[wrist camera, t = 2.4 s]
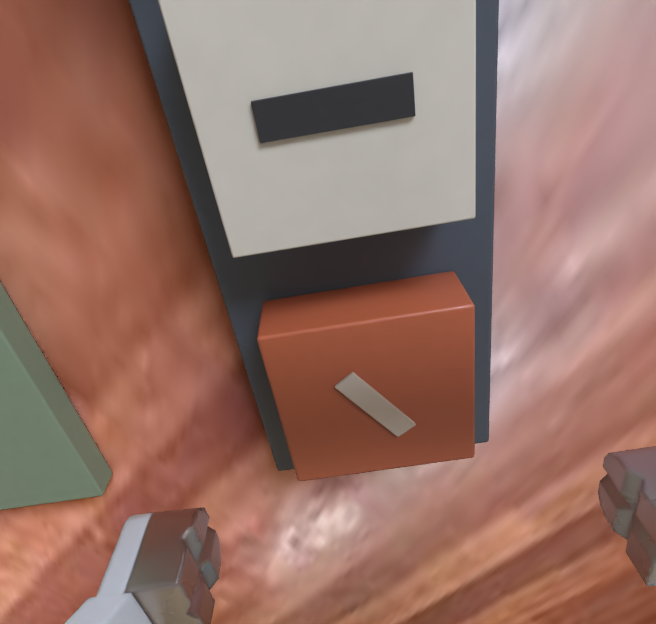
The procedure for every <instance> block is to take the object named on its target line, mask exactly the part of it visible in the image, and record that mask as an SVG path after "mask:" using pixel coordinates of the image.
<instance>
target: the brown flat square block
mask: <svg viewBox="0 0 656 624" xmlns="http://www.w3.org/2000/svg"><path fill="white" fill-rule="evenodd" d="M257 342H258V345H259V349H260V352H261V356H262V359H263V362H264V366H265V369H266V373H267V376H268V380H269V383H270V387H271V390H272V394H273V397H274V400H275V404H276V407H277V411H278V414H279V418H280V421H281V425H282V428H283V431H284V435H285V438H286V442H287V445H288V449H289V452H290V456H291V459H292V463H293V466H294V469H295V473H296V476H297V479H298V480H299V481H306V480H313V479H320V478H328V477H335V476H342V475H349V474H357V473H364V472H371V471H378V470H385V469H393V468H400V467H407V466H414V465H422V464H429V463H436V462H443V461H450V460H458V459H465V458H472V457H474V451H475V306H474V304H473V302H472V300H471V299H470V297H469V295H468V294H467V292H466V290H465V289H464V287H463V285H462V284H461V282H460V280H459V279H458V277H457V275H456V274H455V272H453V271H449V272H442V273H436V274H430V275H423V276H417V277H411V278H405V279H398V280H392V281H386V282H379V283H373V284H367V285H361V286H354V287H348V288H342V289H335V290H329V291H323V292H316V293H310V294H304V295H298V296H291V297H285V298H279V299H272V300H266V301H264V302H263V306H262V312H261V318H260V324H259V330H258V336H257Z"/></svg>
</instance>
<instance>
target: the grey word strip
mask: <svg viewBox="0 0 656 624" xmlns="http://www.w3.org/2000/svg"><path fill="white" fill-rule="evenodd" d="M129 3H130V6H131V9H132V12H133V15H134V19H135V22H136V25H137V28H138V31H139V34H140V37H141V41H142V44H143V47H144V50H145V53H146V56H147V60H148V63H149V66H150V69H151V72H152V75H153V78H154V82H155V85H156V88H157V91H158V94H159V97H160V101H161V104H162V107H163V110H164V113H165V116H166V119H167V123H168V126H169V129H170V132H171V135H172V138H173V141H174V145H175V148H176V151H177V154H178V157H179V160H180V164H181V167H182V170H183V173H184V176H185V179H186V182H187V186H188V189H189V192H190V195H191V198H192V201H193V205H194V208H195V211H196V214H197V217H198V220H199V223H200V227H201V230H202V233H203V236H204V239H205V242H206V246H207V249H208V252H209V255H210V258H211V261H212V264H213V268H214V271H215V274H216V277H217V280H218V283H219V286H220V290H221V293H222V296H223V299H224V302H225V305H226V309H227V312H228V315H229V318H230V321H231V324H232V327H233V331H234V334H235V337H236V340H237V343H238V346H239V350H240V353H241V356H242V359H243V362H244V365H245V368H246V372H247V375H248V378H249V381H250V384H251V387H252V391H253V394H254V397H255V400H256V403H257V406H258V409H259V413H260V416H261V419H262V422H263V425H264V428H265V431H266V435H267V438H268V441H269V444H270V447H271V450H272V454H273V457H274V460H275V463H276V466H277V469H278V470H279V471H282V470H289V469H294V466H293V463H292V459H291V456H290V452H289V449H288V445H287V442H286V438H285V435H284V431H283V428H282V425H281V421H280V418H279V414H278V411H277V407H276V404H275V400H274V397H273V394H272V390H271V387H270V383H269V380H268V376H267V373H266V369H265V366H264V362H263V359H262V356H261V352H260V349H259V345H258V342H257V336H258V330H259V324H260V318H261V312H262V306H263V302H264V301H266V300H272V299H279V298H285V297H291V296H298V295H304V294H310V293H316V292H323V291H329V290H335V289H342V288H348V287H354V286H361V285H367V284H373V283H379V282H386V281H392V280H398V279H405V278H411V277H417V276H423V275H430V274H436V273H442V272H449V271H453V272H455V274H456V275H457V277H458V279H459V280H460V282H461V284H462V285H463V287H464V289H465V290H466V292H467V294H468V295H469V297H470V299H471V300H472V302H473V304H474V306H475V443H482V442H487V441H488V440H489V403H490V359H491V316H492V272H493V229H494V186H495V142H496V99H497V55H498V12H499V0H129Z"/></svg>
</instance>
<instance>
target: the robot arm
mask: <svg viewBox="0 0 656 624" xmlns="http://www.w3.org/2000/svg"><path fill="white" fill-rule="evenodd" d="M603 467H604V469H605V470H606V472H607V473H608V474H607V475H606V476H605V477H604V478H603V479H602V480H601V481H600V483H599V490H598V495H599V500H600V506H601V509H602V511H603V513H604V516H605V518H606V520H607V521H608V523H609V525H610V527H611V528H612V530H613V531H615V532H616V533H618V534H619V535H621V536H622V537H624V538H625V539H627V546H626V553H627V555H628V556H629V558H630V560H631V561H632V563H633V565H634V566H635V568H636V569H637V571H638V573H639V574H640V576H641V578H642V579H643V581H644V582H645V584H646V586H654V585H656V446H653V447H646V448H639V449H632V450H626V451H619V452H612V453H608V454H607V455H606V456H605V458H604V463H603ZM208 522H209V516H208V514H207V512H206V510H205V508H204V507H203V508H194V509H184V510H174V511H165V512H155V513H147V514H139V515H131V516H130V517H129V518H128V520H127V521H126V522H125V523H124V526H123V528H122V531H121V533H120V536H119V539H118V541H117V544H116V546H115V549H114V551H113V554H112V557H111V559H110V562H109V564H108V567H107V570H106V572H105V575H104V577H103V580H102V582H101V585H100V588H99V590H98V593H97V595H96V597H90V598H88V599H87V600H86V601H85V602H84V603H83V604H82V605H81V606H80V607H79V608H78V609H77V611H76V612H75V613H74V614H73V615H72V616H71V617H70V618H69V619H68V620H67V621H66V622H65V623H64V624H211V620H212V614H213V609H214V603H215V600H214V598H213V596H212V594H211V592H210V589H211V588H212V586H213V585H214V584H215V582H216V581H217V580H218V579H219V573H220V567H221V547H220V542H219V538H218V535H217V533H216V531H215V530H213V529H212V528H210V527H208Z"/></svg>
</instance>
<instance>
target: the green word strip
mask: <svg viewBox="0 0 656 624" xmlns="http://www.w3.org/2000/svg"><path fill="white" fill-rule="evenodd" d="M111 476H112V471H111V469H110V467H109V466H108V464H107V462H106V460H105V459H104V457H103V455H102V454H101V452H100V450H99V449H98V447H97V445H96V443H95V442H94V440H93V438H92V437H91V435H90V433H89V431H88V430H87V428H86V426H85V425H84V423H83V421H82V420H81V418H80V416H79V414H78V413H77V411H76V409H75V408H74V406H73V404H72V402H71V401H70V399H69V397H68V396H67V394H66V392H65V391H64V389H63V387H62V385H61V384H60V382H59V380H58V379H57V377H56V375H55V374H54V372H53V370H52V368H51V367H50V365H49V363H48V362H47V360H46V358H45V356H44V355H43V353H42V351H41V350H40V348H39V346H38V345H37V343H36V341H35V339H34V338H33V336H32V334H31V333H30V331H29V329H28V328H27V326H26V324H25V322H24V321H23V319H22V317H21V316H20V314H19V312H18V310H17V309H16V307H15V305H14V304H13V302H12V300H11V299H10V297H9V295H8V293H7V292H6V290H5V288H4V287H3V285H2V283H1V282H0V510H4V509H11V508H18V507H25V506H33V505H40V504H47V503H54V502H61V501H68V500H75V499H83V498H90V497H97V496H102V495H103V494H104V492H105V490H106V487H107V485H108V483H109V481H110V478H111Z"/></svg>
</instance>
